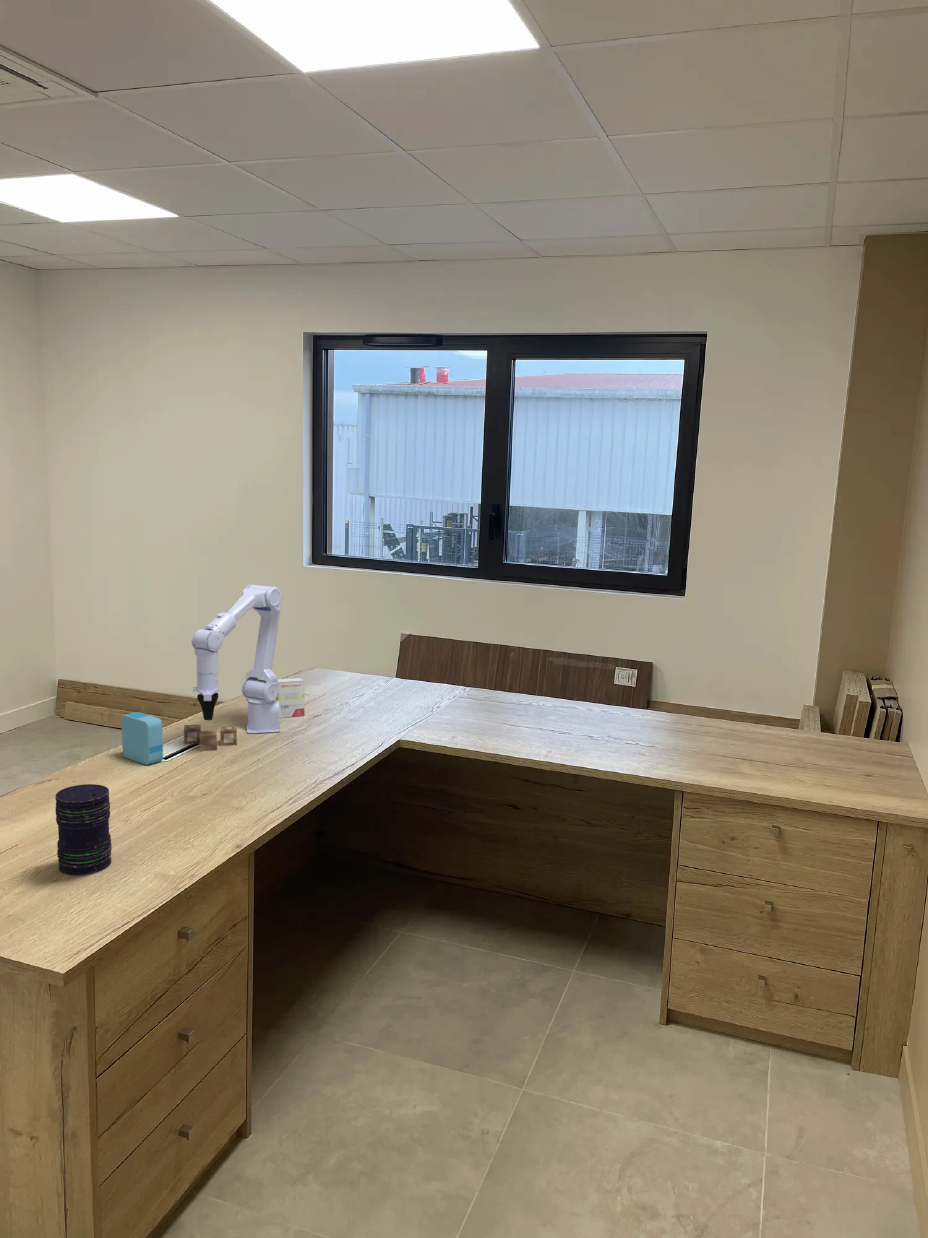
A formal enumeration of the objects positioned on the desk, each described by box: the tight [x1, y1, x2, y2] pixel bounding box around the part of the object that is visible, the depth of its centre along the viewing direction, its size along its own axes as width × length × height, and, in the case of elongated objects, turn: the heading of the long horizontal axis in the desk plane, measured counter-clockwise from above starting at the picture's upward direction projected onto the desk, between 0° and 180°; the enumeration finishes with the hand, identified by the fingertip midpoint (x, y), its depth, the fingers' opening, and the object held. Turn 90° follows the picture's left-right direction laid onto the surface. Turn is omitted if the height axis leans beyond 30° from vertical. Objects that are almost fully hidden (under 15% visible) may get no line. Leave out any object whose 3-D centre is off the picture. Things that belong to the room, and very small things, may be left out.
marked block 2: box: [219, 725, 238, 747], centre depth 255 cm, size 4×5×5 cm
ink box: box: [274, 677, 305, 719], centre depth 285 cm, size 9×5×12 cm, turn 114°
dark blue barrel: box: [54, 783, 113, 877], centre depth 174 cm, size 10×10×15 cm
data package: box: [121, 711, 164, 766], centre depth 238 cm, size 12×4×12 cm, turn 54°
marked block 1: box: [183, 724, 202, 745], centre depth 255 cm, size 4×5×5 cm
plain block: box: [199, 730, 218, 752], centre depth 250 cm, size 4×4×4 cm
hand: (208, 719), depth 249 cm, fingers closed
